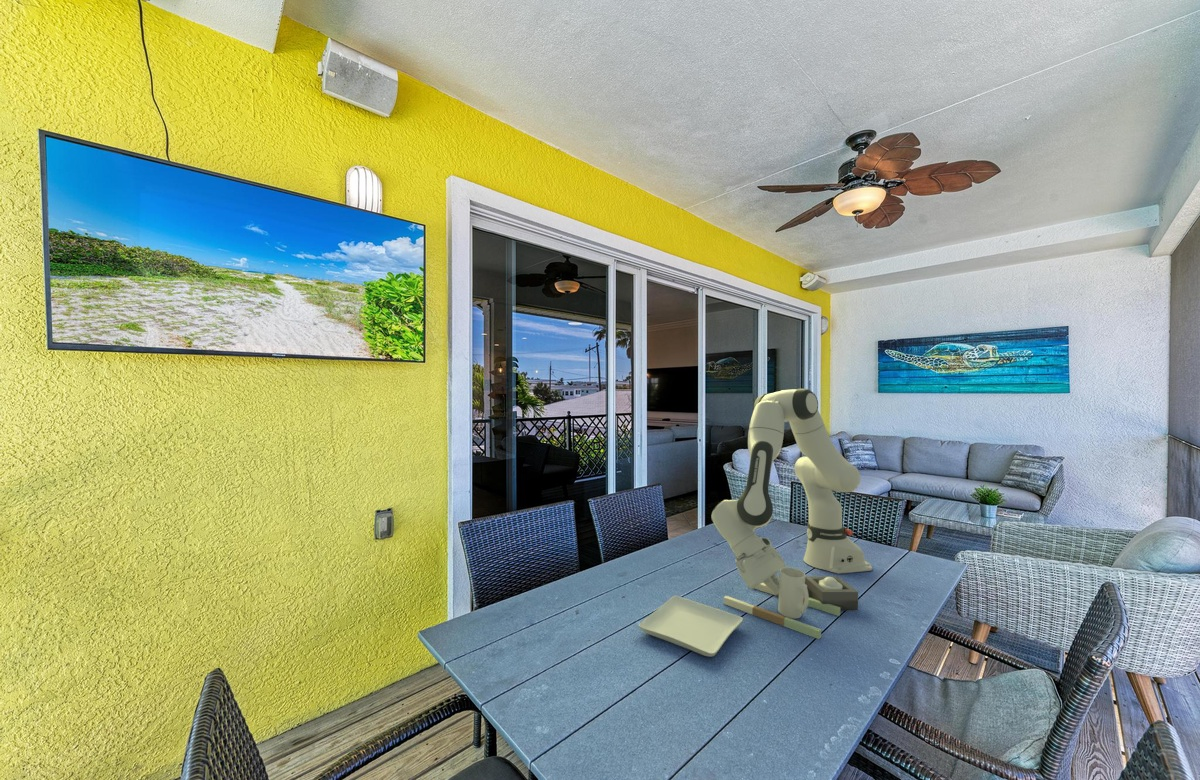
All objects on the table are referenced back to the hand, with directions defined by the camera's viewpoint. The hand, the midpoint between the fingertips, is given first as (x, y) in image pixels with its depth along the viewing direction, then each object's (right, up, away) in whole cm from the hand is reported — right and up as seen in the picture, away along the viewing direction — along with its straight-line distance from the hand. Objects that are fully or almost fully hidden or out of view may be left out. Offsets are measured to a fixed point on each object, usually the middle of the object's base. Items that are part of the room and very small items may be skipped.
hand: (780, 592), depth 131 cm
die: (+8, -5, +13) cm, 16 cm away
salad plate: (-29, -5, -12) cm, 32 cm away
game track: (0, -5, 0) cm, 5 cm away
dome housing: (+17, -5, +5) cm, 19 cm away
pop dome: (+17, -2, +5) cm, 18 cm away
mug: (+2, -5, -4) cm, 7 cm away
